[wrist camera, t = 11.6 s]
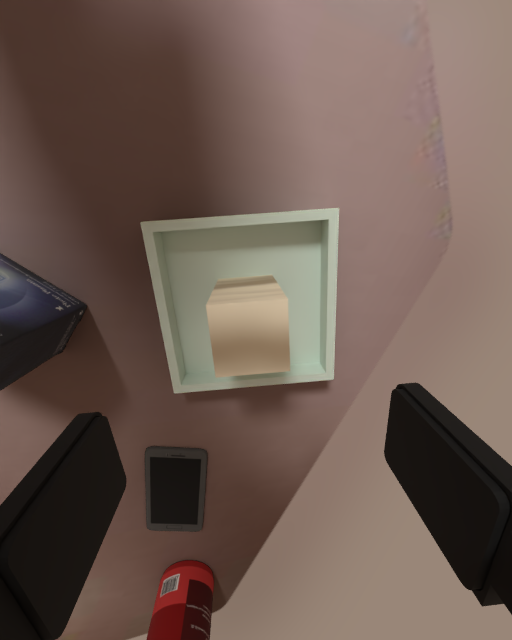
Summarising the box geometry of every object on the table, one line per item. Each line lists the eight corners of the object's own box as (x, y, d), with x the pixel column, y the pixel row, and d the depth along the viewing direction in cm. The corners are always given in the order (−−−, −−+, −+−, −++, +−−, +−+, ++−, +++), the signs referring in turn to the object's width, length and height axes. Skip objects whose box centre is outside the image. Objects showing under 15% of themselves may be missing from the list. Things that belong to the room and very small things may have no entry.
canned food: (156, 588, 40) (126, 715, 30) (169, 554, 38) (141, 678, 27) (205, 596, 41) (193, 720, 31) (221, 563, 39) (213, 685, 28)
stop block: (218, 278, 25) (205, 305, 16) (272, 274, 25) (288, 298, 16) (224, 329, 26) (215, 377, 18) (274, 325, 26) (290, 371, 18)
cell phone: (148, 525, 36) (146, 531, 35) (146, 443, 32) (144, 448, 31) (202, 526, 37) (202, 532, 36) (208, 446, 32) (207, 451, 32)
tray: (152, 222, 24) (140, 221, 21) (327, 210, 24) (339, 207, 21) (180, 377, 29) (174, 393, 26) (324, 364, 29) (333, 379, 26)
